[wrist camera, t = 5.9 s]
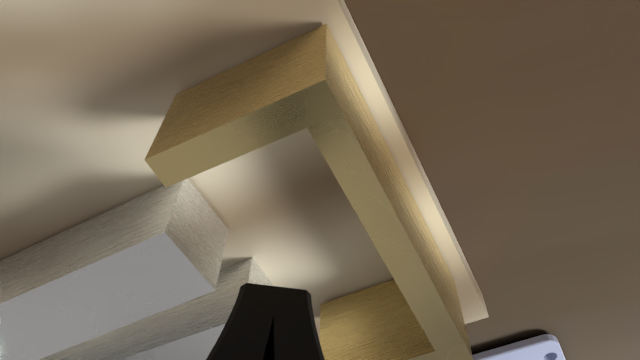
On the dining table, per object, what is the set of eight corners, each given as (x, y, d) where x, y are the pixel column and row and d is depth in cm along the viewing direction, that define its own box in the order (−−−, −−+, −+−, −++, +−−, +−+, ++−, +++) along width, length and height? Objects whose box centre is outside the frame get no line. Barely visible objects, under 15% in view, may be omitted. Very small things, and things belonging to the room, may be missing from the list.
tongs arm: (228, 230, 20) (209, 315, 17) (-58, 351, 24) (-117, 439, 21) (185, 175, 19) (155, 256, 16) (-110, 311, 23) (-181, 399, 19)
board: (482, 293, 23) (488, 316, 22) (11, 441, 30) (0, 465, 29) (251, -197, 14) (245, -194, 13) (-355, 166, 21) (-389, 187, 20)
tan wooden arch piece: (454, 279, 21) (473, 360, 18) (331, 319, 22) (330, 401, 19) (326, 23, 16) (325, 79, 13) (175, 94, 17) (144, 159, 14)
